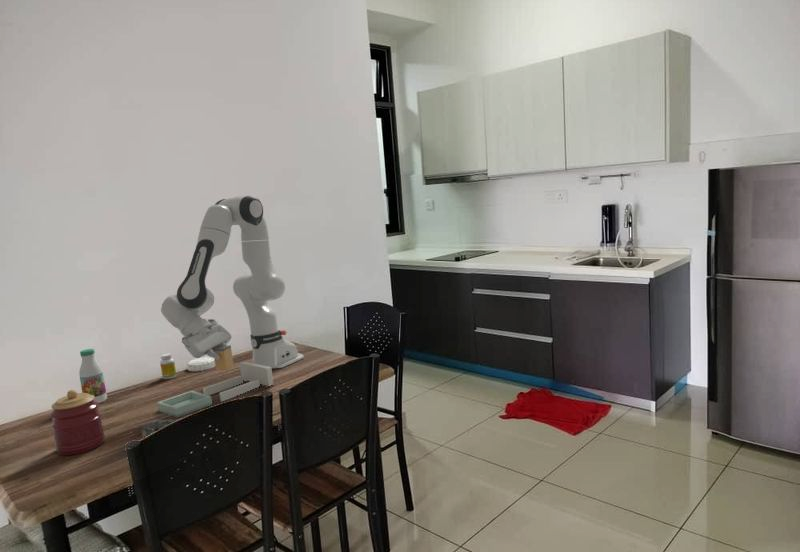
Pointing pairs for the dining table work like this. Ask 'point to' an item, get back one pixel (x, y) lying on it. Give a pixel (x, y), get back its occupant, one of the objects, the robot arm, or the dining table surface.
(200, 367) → the mooncake
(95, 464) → the dining table surface
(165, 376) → the supplement bottle
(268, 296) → the robot arm
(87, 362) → the milk bottle
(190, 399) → the tray
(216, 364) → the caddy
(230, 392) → the dock
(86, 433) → the canister
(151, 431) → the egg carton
